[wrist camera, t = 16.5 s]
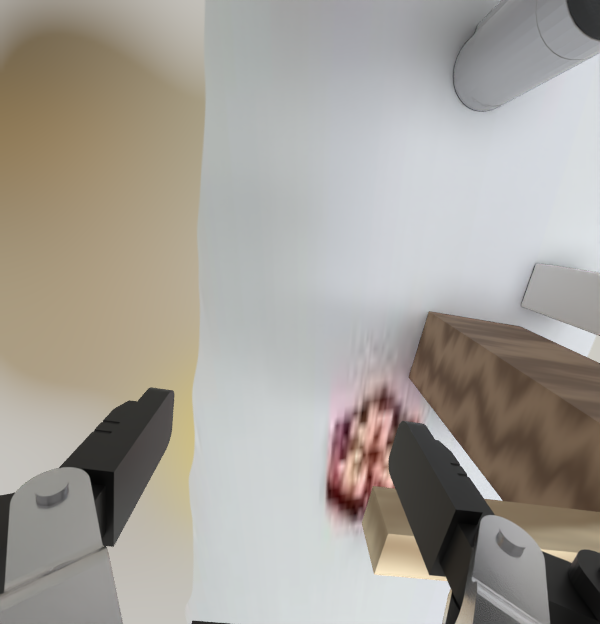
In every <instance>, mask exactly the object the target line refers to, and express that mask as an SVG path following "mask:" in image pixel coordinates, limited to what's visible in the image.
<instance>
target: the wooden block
mask: <svg viewBox="0 0 600 624" xmlns="http://www.w3.org/2000/svg"><path fill="white" fill-rule="evenodd" d="M484 500H485V501H486V503H487V504H488V505H489V507H490V508H491V510H492V511H493V513H494V514H495V515H496V516H500V517H503V518H505V519H507V520H509V521H511V522H513V523H515V524H516V525H518V526H519V527H521V528H522V529H523V530H524V531H526V532H527V533H528V534H529V535H530V536H531V537H532V538H533V539H534V541H535V542H536V543H537V544H538V546H539V547H540V549H541V551H543V552H546V553H548V554H551V555H553V556H556V557H559V558H561V559H564V560H566V561H569V562H571V563H572V562H573V560H574V559H575V557H576V555H577V553H578V552H579V551H580V550H584V549H586V550H592V551H596V552H599V553H600V512H595V511H586V510H577V509H569V508H560V507H551V506H542V505H533V504H525V503H516V502H507V501H498V500H490V499H484ZM362 526H363V530H364V534H365V539H366V543H367V547H368V551H369V555H370V559H371V563H372V567H373V572H374V575H385V576H396V577H407V578H419V579H430V580H441V581H447V579H446V577H443V576H432V575H429V573H428V571H427V568H426V566H425V563H424V561H423V558H422V555H421V553H420V550H419V548H418V545H417V543H416V540H415V538H414V535H413V532H412V530H411V527H410V525H409V522H408V520H407V517H406V514H405V512H404V509H403V507H402V504H401V502H400V499H399V497H398V494H397V491H396V489H393V488H385V487H376V486H373V488H372V491H371V495H370V498H369V501H368V504H367V508H366V511H365V514H364V518H363V521H362Z"/></svg>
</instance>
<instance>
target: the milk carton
mask: <svg viewBox="0 0 600 624" xmlns="http://www.w3.org/2000/svg"><path fill="white" fill-rule="evenodd" d="M521 306H522V307H524V308H527V309H529V310H532V311H535V312H537V313H540V314H543V315H545V316H548V317H551V318H553V319H556V320H559V321H561V322H564V323H567V324H569V325H572V326H575V327H577V328H580V329H583V330H585V331H588V332H591V333H593V334H596V335H599V336H600V273H598V272H593V271H587V270H581V269H574V268H567V267H561V266H554V265H547V264H540V263H537V264H536V265H535V268H534V271H533V273H532V276H531V279H530V282H529V285H528V288H527V290H526V293H525V296H524V299H523V302H522V305H521Z"/></svg>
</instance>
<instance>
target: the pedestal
mask: <svg viewBox="0 0 600 624" xmlns="http://www.w3.org/2000/svg"><path fill="white" fill-rule="evenodd" d="M409 378H410V380H411V381H412V382H413V384H414V385H415V386H416V387H417V389H418V390H419V391H420V393H421V394H422V395H423V397H424V398H425V399H426V401H427V402H428V403H429V404H430V406H431V407H432V408H433V410H434V411H435V412H436V414H437V415H438V416H439V418H440V419H441V420H442V422H443V423H444V424H445V425H446V427H447V428H448V429H449V431H450V432H451V433H452V435H453V436H454V437H455V439H456V440H457V441H458V442H459V444H460V445H461V446H462V448H463V449H464V450H465V452H466V453H467V454H468V456H469V457H470V458H471V459H472V461H473V462H474V463H475V465H476V466H477V467H478V469H479V470H480V471H481V473H482V474H483V475H484V477H485V478H486V479H487V480H488V482H489V483H490V484H491V486H492V487H493V488H494V490H495V491H496V492H497V494H498V495H499V496H500V497H501V499H502V500H503V501H507V502H516V503H525V504H533V505H542V506H551V507H560V508H569V509H577V510H586V511H595V512H600V363H598V362H596V361H594V360H591V359H589V358H587V357H585V356H583V355H581V354H579V353H576V352H574V351H572V350H570V349H568V348H566V347H563V346H561V345H559V344H557V343H555V342H553V341H550V340H548V339H546V338H544V337H542V336H540V335H537V334H535V333H533V332H531V331H529V330H527V329H524V328H522V327H520V326H514V325H508V324H502V323H496V322H490V321H484V320H478V319H472V318H466V317H460V316H454V315H448V314H442V313H436V312H430V311H429V313H428V316H427V319H426V323H425V326H424V329H423V332H422V336H421V339H420V342H419V345H418V349H417V352H416V355H415V359H414V362H413V365H412V368H411V372H410V375H409Z"/></svg>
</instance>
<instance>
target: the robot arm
mask: <svg viewBox="0 0 600 624" xmlns="http://www.w3.org/2000/svg"><path fill="white" fill-rule="evenodd" d="M599 53H600V0H502V1H501V2H500V3H499V4H498V5H497V6H496V7H495V8H494V9H493V10H492V11H491V12H490V13H489V14H488V15H487V16H486V17H485V18H484V19H483V20H482V21H481V22H480V23H479V24H478V25H477V29H476V32H475V34H474V35H473V36H472V37H471V38H470V39H469V40H468V41H467V42H466V43H465V45H464V46H463V48H462V49H461V51H460V53H459V55H458V57H457V60H456V63H455V67H454V85H455V89H456V92H457V94H458V96H459V98H460V100H461V101H462V102H463V103H464V104H465V105H466V106H468V107H469V108H471V109H474V110H476V111H489V110H493V109H495V108H498V107H500V106H501V105H503V104H505V103H507V102H509V101H511V100H513V99H515V98H516V97H519V96H520V95H522V94H524V93H526V92H528V91H530V90H532V89H534V88H535V87H537V86H539V85H541V84H543V83H545V82H547V81H549V80H550V79H552V78H554V77H556V76H558V75H560V74H562V73H563V72H565V71H567V70H569V69H571V68H573V67H575V66H577V65H578V64H580V63H582V62H584V61H586V60H588V59H590V58H592V57H593V56H595V55H597V54H599ZM173 407H174V391H172V390H165V389H157V388H149V389H148V390H147V391H146V392H145V393H144V394H143V396H142V397H141V398H140V399H139V400H138V402H136V401H127V402H125V403H124V404H122V405H120V406H118V407H116V408H115V409H114V410H112V411H111V413H110V414H109V415H108V416H107V417H106V418H105V419H104V420H103V422H102V423H100V424H99V425H98V427H97V428H96V429H95V431H94V432H92V433H91V434H90V435H89V436H88V437H87V438H86V439H85V441H84V442H83V443H82V444H81V445H80V446H79V447H78V448H77V449H76V450H75V451H74V452H73V453H72V454H71V456H70V457H69V458H68V459H67V460H66V461H65V462H64V463H63V464H62V465H61V466H60V467H59V468H57V469H53V470H50V471H46V472H44V473H42V474H39V475H37V476H35V477H34V478H32V479H30V480H29V481H27V482H26V483H25V484H24V485H22V486H21V487H20V488H19V489H18V490H17V491H16V493H12V494H7V495H0V624H123V622H122V617H121V612H120V608H119V602H118V597H117V592H116V588H115V582H114V577H113V572H112V567H111V563H110V558H109V553H108V550H107V547H106V546H114V544H115V543H116V541H117V539H118V537H119V536H120V534H121V532H122V530H123V528H124V526H125V524H126V522H127V521H128V519H129V517H130V515H131V513H132V511H133V510H134V508H135V506H136V504H137V502H138V500H139V499H140V496H141V495H142V493H143V491H144V489H145V487H146V486H147V484H148V482H149V480H150V478H151V476H152V475H153V473H154V471H155V469H156V467H157V465H158V463H159V461H160V460H161V458H162V456H163V454H164V452H165V450H166V448H167V446H168V443H169V441H170V437H171V432H172V421H173ZM389 472H390V476H391V479H392V481H393V484H394V486H395V489H396V491H397V494H398V497H399V499H400V502H401V504H402V507H403V509H404V512H405V514H406V517H407V520H408V522H409V525H410V527H411V530H412V532H413V535H414V538H415V540H416V543H417V545H418V548H419V550H420V553H421V555H422V558H423V561H424V563H425V566H426V568H427V571H428V573H429V575H432V576H443V577H446V579H447V581H448V583H449V585H450V588H451V589H450V592H449V594H448V598H447V603H446V608H445V612H444V617H443V622H442V624H600V553H599V552H596V551H592V550H586V549H584V550H580V551H579V552H578V553H577V555H576V557H575V559H574V560H573V562H572V563H571V562H569V561H566V560H564V559H561V558H559V557H556V556H553V555H551V554H548V553H546V552H543V551H541V549H540V547H539V546H538V544H537V543H536V542H535V541H534V539H533V538H532V537H531V536H530V535H529V534H528V533H527V532H526V531H524V530H523V529H522V528H521V527H519V526H518V525H516V524H515V523H513V522H511V521H509V520H507V519H505V518H503V517H500V516H496V515H495V514H494V513H493V511H492V510H491V508H490V507H489V505H488V504H487V503H486V501H485V500H484V498H483V497H482V495H481V494H480V492H479V491H478V490H477V488H476V487H475V485H474V484H473V482H472V481H471V479H470V478H469V477H467V474H466V472H465V471H464V469H463V468H462V467H461V466H460V464H459V462H458V461H457V459H456V458H455V456H454V455H453V453H452V452H451V451H450V450H449V449H448V448H446V447H445V446H444V445H443V444H442V443H441V442H440V441H438V440H435V439H434V437H433V436H432V434H431V433H430V431H429V430H428V428H427V427H426V425H424V424H421V423H414V422H406V421H402V422H401V423H400V424H399V427H398V430H397V433H396V436H395V440H394V443H393V446H392V449H391V453H390V456H389ZM192 624H228V623H215V622H203V621H192Z"/></svg>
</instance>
